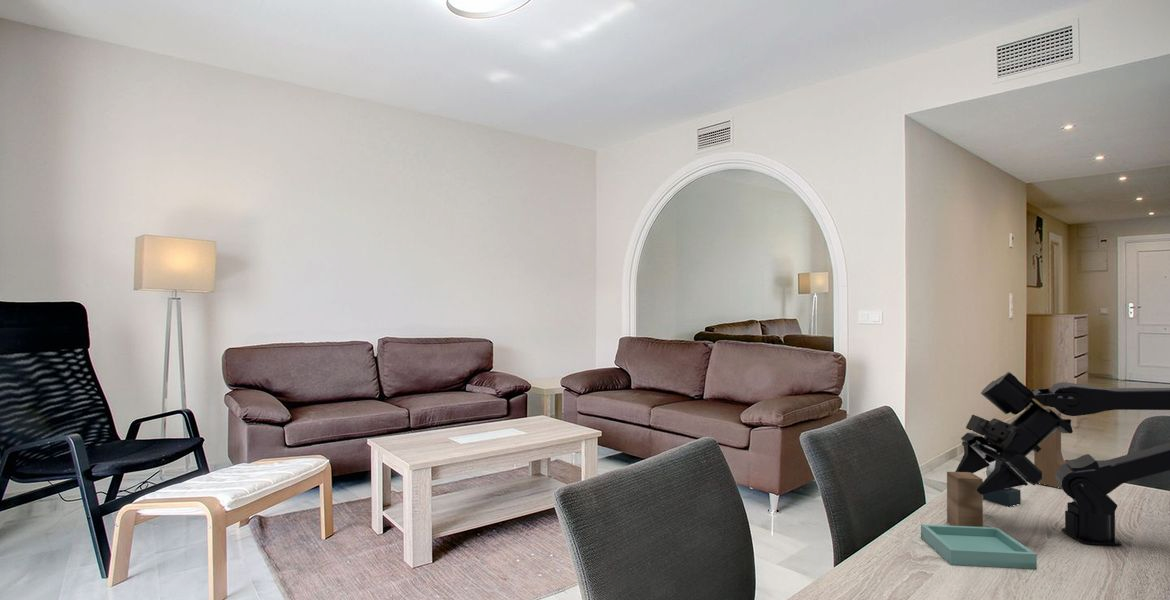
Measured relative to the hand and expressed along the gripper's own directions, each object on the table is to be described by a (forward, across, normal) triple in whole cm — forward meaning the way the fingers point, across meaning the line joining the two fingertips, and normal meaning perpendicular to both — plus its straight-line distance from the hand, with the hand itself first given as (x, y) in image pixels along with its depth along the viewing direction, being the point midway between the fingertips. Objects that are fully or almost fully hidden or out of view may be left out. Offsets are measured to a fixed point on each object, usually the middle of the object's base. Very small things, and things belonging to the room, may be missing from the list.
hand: (966, 484), depth 117 cm
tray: (+9, +12, +3) cm, 15 cm away
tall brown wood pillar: (+6, 0, +6) cm, 8 cm away
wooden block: (-19, -30, +31) cm, 47 cm away
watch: (-5, -17, +17) cm, 24 cm away
